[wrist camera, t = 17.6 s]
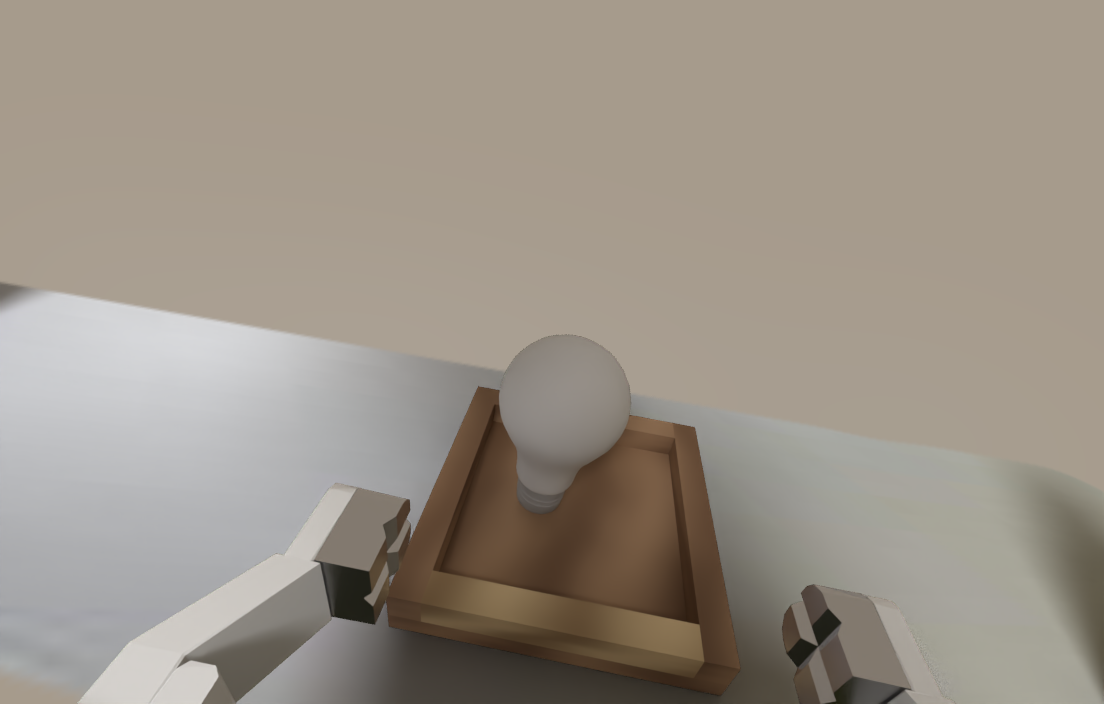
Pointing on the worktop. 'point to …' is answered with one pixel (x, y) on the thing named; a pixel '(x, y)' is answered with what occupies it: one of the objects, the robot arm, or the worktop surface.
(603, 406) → the lightbulb
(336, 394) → the worktop surface
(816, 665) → the robot arm
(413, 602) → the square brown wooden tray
